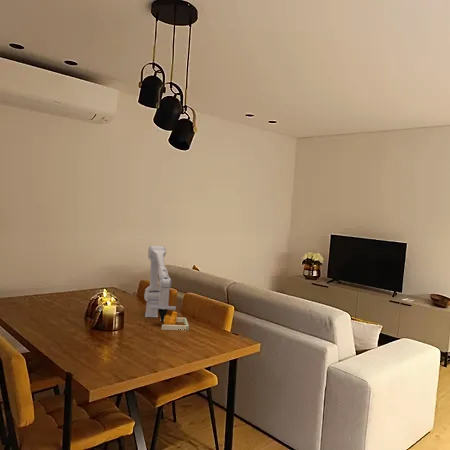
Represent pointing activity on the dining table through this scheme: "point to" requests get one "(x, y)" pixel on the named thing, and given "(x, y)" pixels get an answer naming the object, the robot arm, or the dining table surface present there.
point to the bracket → (176, 327)
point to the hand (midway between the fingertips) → (161, 322)
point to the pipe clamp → (171, 319)
